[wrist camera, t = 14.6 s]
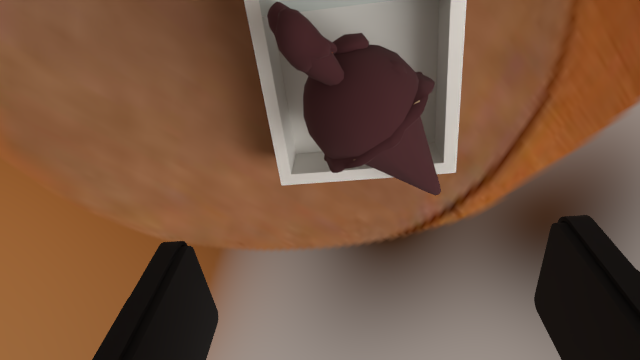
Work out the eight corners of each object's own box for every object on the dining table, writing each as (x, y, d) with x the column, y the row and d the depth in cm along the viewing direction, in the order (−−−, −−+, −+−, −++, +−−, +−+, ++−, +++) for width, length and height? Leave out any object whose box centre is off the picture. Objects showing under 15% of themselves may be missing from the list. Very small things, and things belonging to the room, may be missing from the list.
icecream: (519, 180, 22) (355, -57, 15) (415, 263, 23) (218, 82, 16) (457, 134, 28) (318, -51, 21) (377, 201, 29) (221, 50, 22)
